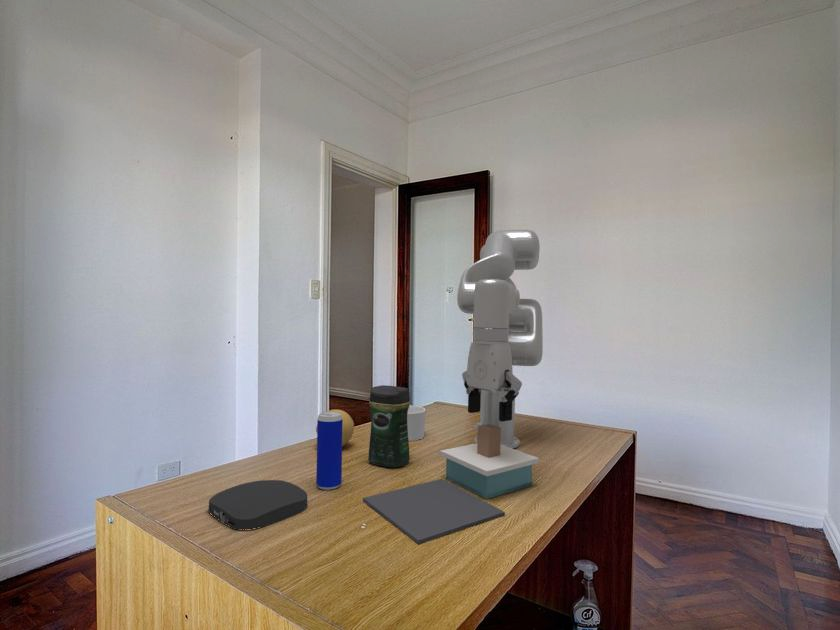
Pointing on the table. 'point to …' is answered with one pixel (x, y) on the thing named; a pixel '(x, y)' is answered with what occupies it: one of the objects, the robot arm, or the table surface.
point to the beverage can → (329, 450)
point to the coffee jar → (389, 426)
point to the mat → (432, 509)
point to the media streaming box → (257, 503)
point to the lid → (489, 453)
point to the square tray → (489, 479)
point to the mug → (416, 422)
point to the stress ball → (345, 426)
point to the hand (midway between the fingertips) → (489, 416)
